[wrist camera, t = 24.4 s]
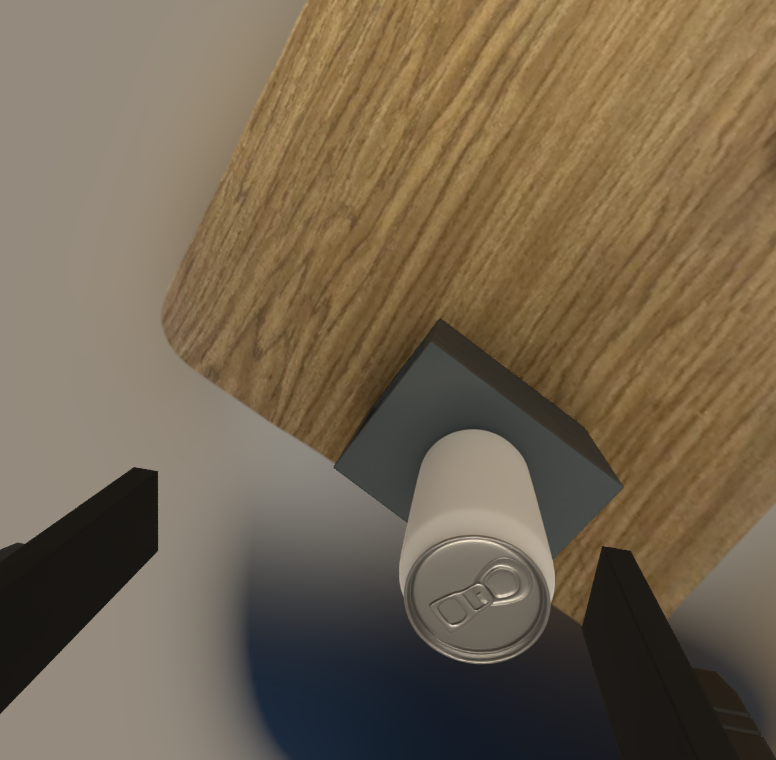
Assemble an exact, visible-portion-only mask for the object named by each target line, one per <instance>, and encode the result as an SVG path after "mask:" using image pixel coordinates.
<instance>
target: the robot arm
mask: <svg viewBox="0 0 776 760" xmlns="http://www.w3.org/2000/svg"><path fill="white" fill-rule="evenodd" d="M157 551H158V471H153V470H147V469H142V468H136V467H134V468H132V469H131V470H130V471H128V472H127V473H125V474H124V475H122V476H121V477H120V478H118V479H117V480H115V481H114V482H112V483H111V484H110V485H108V486H107V487H105V488H104V489H102V490H101V491H100V492H98V493H97V494H95V495H94V496H93V497H91V498H90V499H88V500H87V501H85V502H84V503H83V504H81V505H80V506H78V507H77V508H75V510H73V511H71V512H70V513H68V514H67V515H66V516H64V517H63V518H61V519H60V520H58V521H57V522H56V523H54V524H53V525H51V526H50V527H49V528H47V529H46V530H44V531H43V532H41V533H40V534H39V535H37V536H36V537H34V538H33V539H32V540H30V541H29V542H27V543H26V544H22V543H16V544H13V545H10V546H8V547H6V548H3V549H1V550H0V714H1V713H2V711H3V710H4V709H5V708H6V707H7V706H8V705H9V704H10V703H11V702H12V701H13V700H14V699H15V698H16V697H17V696H18V695H19V694H20V693H21V692H22V691H23V690H24V689H25V688H26V687H27V686H28V685H29V684H30V683H31V681H32V680H33V679H34V678H35V677H36V676H37V675H38V674H39V673H40V672H41V671H42V670H43V669H44V668H45V667H46V666H47V665H48V664H49V663H50V662H51V661H52V660H53V659H54V658H55V657H56V656H57V655H58V653H60V651H62V649H63V648H64V647H65V646H66V645H67V644H68V643H69V642H70V641H71V640H72V639H73V638H74V637H75V636H76V635H77V634H78V633H79V632H80V631H81V630H82V629H83V628H84V627H85V626H86V625H87V624H88V623H89V622H90V620H92V618H93V617H94V616H95V615H96V614H97V613H98V612H99V611H100V610H101V609H102V608H103V607H104V606H105V605H106V604H107V603H108V602H109V601H110V600H111V599H112V598H113V597H114V596H115V594H117V593H118V592H119V591H120V590H121V588H122V587H123V586H124V585H125V584H126V583H127V582H128V581H129V580H130V579H131V578H132V577H133V576H134V575H135V574H136V573H137V572H138V571H139V570H140V569H141V568H142V567H143V566H144V565H145V564H146V563H147V562H148V561H149V559H151V557H152V556H153V555H154V554H155V553H156V552H157ZM582 631H583V635H584V638H585V641H586V645H587V648H588V651H589V655H590V658H591V661H592V665H593V668H594V671H595V675H596V678H597V681H598V685H599V688H600V691H601V695H602V698H603V701H604V705H605V708H606V711H607V715H608V718H609V721H610V725H611V728H612V732H613V735H614V738H615V742H616V745H617V748H618V751H619V755H620V758H621V760H776V758H775V756H774V754H773V752H772V751H771V749H770V748H769V746H768V744H767V742H766V741H765V739H764V738H763V737H761V735H760V733H761V732H760V731H759V729H758V727H757V726H756V724H755V722H754V721H753V719H751V718H750V714H749V712H748V710H747V709H746V707H745V705H744V704H743V702H742V701H741V699H740V697H739V695H738V694H737V692H736V691H735V690H734V689H732V687H731V686H730V685H729V684H728V683H726V681H725V680H724V679H723V678H722V677H720V676H719V675H718V674H717V673H716V672H713V671H708V670H703V669H698V668H692V667H691V665H690V663H689V661H688V659H687V657H686V655H685V653H684V652H683V650H682V648H681V646H680V644H679V642H678V640H677V638H676V636H675V634H674V633H673V631H672V629H671V627H670V625H669V623H668V621H667V619H666V617H665V615H664V614H663V612H662V610H661V608H660V606H659V604H658V602H657V600H656V598H655V596H654V595H653V593H652V591H651V589H650V587H649V585H648V583H647V581H646V579H645V577H644V576H643V574H642V572H641V570H640V568H639V566H638V564H637V562H636V560H635V559H634V557H633V555H632V553H631V551H628V550H622V549H616V548H610V547H604V546H602V549H601V553H600V557H599V561H598V565H597V569H596V573H595V577H594V581H593V585H592V589H591V593H590V597H589V601H588V606H587V610H586V614H585V618H584V622H583V626H582Z"/></svg>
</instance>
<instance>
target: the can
mask: <svg viewBox="0 0 776 760" xmlns="http://www.w3.org/2000/svg"><path fill="white" fill-rule="evenodd" d="M399 581H400V586H401V590H402V594H403V596H404V604H405V609H406V612H407V616H408V618H409V620H410V622H411V624H412V626H413V628H414V629H415V631H416V632H417V634H418V635H419V636H420V637H421V638H422V639H423V640H424V641H425V642H426V643H427V644H428V645H429V646H431V647H432V648H433V649H435V650H436V651H438V652H439V653H441V654H443V655H445V656H447V657H449V658H452V659H455V660H458V661H462V662H466V663H473V664H490V663H497V662H502V661H505V660H508V659H511V658H513V657H515V656H518V655H519V654H521V653H523V652H524V651H526V650H527V649H528V648H529V647H531V646H532V645H533V644H534V643H535V642H536V641H537V640H538V638H539V637H540V635H541V634H542V632H543V631H544V628H545V627H546V624H547V622H548V618H549V614H550V605H551V601H552V598H553V594H554V588H555V574H554V566H553V561H552V556H551V552H550V548H549V544H548V540H547V536H546V533H545V529H544V525H543V521H542V518H541V514H540V510H539V506H538V503H537V499H536V495H535V492H534V488H533V484H532V481H531V477H530V474H529V470H528V467H527V464H526V462H525V460H524V458H523V457H522V455H521V454H520V453H519V451H518V450H517V449H516V448H515V447H514V446H513V445H512V444H511V443H510V442H508V441H507V440H506V439H504V438H503V437H501V436H499V435H497V434H495V433H492V432H489V431H485V430H477V429H468V430H461V431H457V432H454V433H451V434H449V435H447V436H445V437H443V438H442V439H440V440H439V441H437V442H436V443H435V444H434V445H433V446H432V447H431V448H430V450H429V451H428V452H427V454H426V456H425V457H424V459H423V462H422V464H421V468H420V471H419V475H418V479H417V483H416V488H415V492H414V496H413V501H412V505H411V510H410V514H409V518H408V523H407V528H406V532H405V537H404V541H403V547H402V552H401V557H400V564H399Z"/></svg>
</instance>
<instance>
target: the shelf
mask: <svg viewBox="0 0 776 760" xmlns="http://www.w3.org/2000/svg"><path fill="white" fill-rule="evenodd" d="M468 429H477V430H485V431H489V432H492V433H495V434H497V435H499V436H501V437H503V438H504V439H506V440H507V441H508V442H510V443H511V444H512V445H513V446H514V447H515V448H516V449H517V450H518V451H519V453H520V454H521V455H522V457H523V458H524V460H525V462H526V464H527V467H528V470H529V474H530V477H531V481H532V484H533V488H534V492H535V495H536V499H537V503H538V506H539V510H540V514H541V518H542V521H543V525H544V529H545V533H546V536H547V540H548V544H549V548H550V552H551V556H552V560H553V559H554V558H555V557H556V556H557V555H558V554H559V553H560V552H561V551H562V550H563V549H564V548H565V547H566V546H567V545H568V544H569V543H570V542H571V541H572V540H573V539H574V538H575V537H576V535H577V534H578V533H579V532H580V531H581V530H582V529H583V528H584V527H585V526H586V525H587V524H588V523H589V522H590V521H591V520H592V519H593V518H594V517H595V516H596V515H597V514H598V513H599V512H600V511H601V510H602V509H603V508H604V507H605V506H606V505H607V504H608V503H609V502H610V501H611V500H612V499H613V498H614V497H615V496H616V495H617V494H618V493H619V492H620V491H621V490H622V489H623V485H622V484H621V482H620V481H619V479H618V478H617V476H616V475H615V473H614V472H613V470H612V469H611V467H610V465H609V464H608V462H607V461H606V459H605V458H604V456H603V455H602V453H601V452H600V450H599V449H598V447H597V446H596V444H595V443H594V441H593V440H592V438H591V437H590V435H589V434H588V432H587V431H586V429H585V428H584V427H583V426H582V425H580V424H579V423H578V422H576V421H575V420H574V419H572V418H571V417H570V416H568V415H567V414H566V413H565V412H563V411H562V410H561V409H559V408H558V407H557V406H555V405H554V404H553V403H551V402H550V401H549V400H547V399H546V398H545V397H543V396H542V395H541V394H539V393H538V392H537V391H536V390H534V389H533V388H532V387H530V386H529V385H528V384H526V383H525V382H524V381H522V380H521V379H520V378H518V377H517V376H516V375H514V374H513V373H512V372H510V371H509V370H508V369H507V368H505V367H504V366H503V365H501V364H500V363H499V362H497V361H496V360H495V359H493V358H492V357H491V356H489V355H488V354H487V353H485V352H484V351H483V350H481V349H480V348H479V347H478V346H476V345H475V344H474V343H472V342H471V341H470V340H468V339H467V338H466V337H464V336H463V335H462V334H460V333H459V332H458V331H456V330H455V329H454V328H452V327H451V326H450V325H449V324H447V323H446V322H445V321H443V320H442V319H439V320H438V322H437V323H436V324H435V326H434V327H433V328H432V330H431V331H430V332H429V334H428V335H427V336H426V337H425V339H424V340H423V341H422V343H421V344H420V345H419V347H418V348H417V349H416V350H415V352H414V353H413V354H412V356H411V357H410V358H409V360H408V361H407V362H406V364H405V365H404V366H403V367H402V369H401V370H400V371H399V373H398V374H397V375H396V377H395V378H394V379H393V380H392V382H391V383H390V384H389V386H388V387H387V388H386V390H385V391H384V392H383V394H382V395H381V396H380V397H379V399H378V400H377V401H376V403H375V404H374V405H373V407H372V408H371V409H370V410H369V412H368V413H367V414H366V416H365V417H364V419H363V421H362V422H361V424H360V425H359V427H358V429H357V430H356V432H355V433H354V435H353V437H352V438H351V440H350V441H349V443H348V445H347V446H346V448H345V449H344V451H343V453H342V454H341V456H340V457H339V459H338V461H337V462H336V464H335V465H334V468H335V469H336V470H337V471H339V472H340V473H341V474H343V475H344V476H346V477H347V478H348V479H350V480H351V481H352V482H353V483H355V484H356V485H357V486H359V487H360V488H361V489H363V490H364V491H365V492H367V493H368V494H370V495H371V496H372V497H374V498H375V499H376V500H378V501H379V502H380V503H382V504H383V505H384V506H386V507H387V508H388V509H390V510H391V511H392V512H394V513H395V514H396V515H398V516H399V517H400V518H402V519H403V520H404V521H406V522H407V523H408V518H409V514H410V510H411V505H412V501H413V496H414V492H415V488H416V483H417V479H418V475H419V471H420V468H421V464H422V462H423V459H424V457H425V456H426V454H427V452H428V451H429V450H430V448H431V447H432V446H433V445H434V444H435V443H436V442H437V441H439V440H440V439H442V438H443V437H445V436H447V435H449V434H451V433H454V432H457V431H461V430H468Z"/></svg>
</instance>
